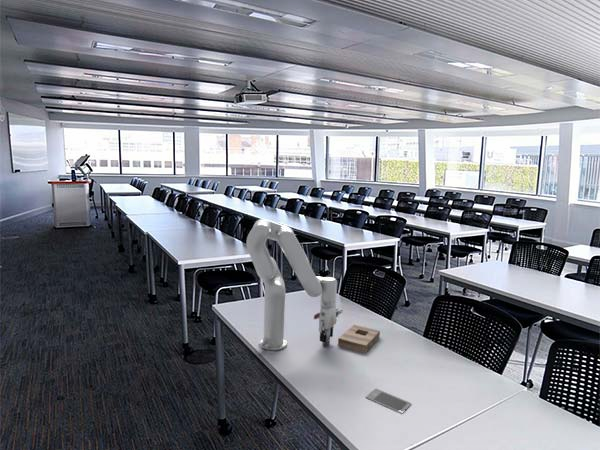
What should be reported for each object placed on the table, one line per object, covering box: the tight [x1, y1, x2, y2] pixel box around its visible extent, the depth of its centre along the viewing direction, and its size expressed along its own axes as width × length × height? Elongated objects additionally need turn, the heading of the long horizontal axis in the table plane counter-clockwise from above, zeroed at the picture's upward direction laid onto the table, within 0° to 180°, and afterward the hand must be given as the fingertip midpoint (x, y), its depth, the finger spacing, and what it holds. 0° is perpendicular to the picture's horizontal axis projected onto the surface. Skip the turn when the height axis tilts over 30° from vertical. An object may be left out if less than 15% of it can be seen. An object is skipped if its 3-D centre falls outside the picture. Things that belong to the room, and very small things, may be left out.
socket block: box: [337, 324, 381, 354], centre depth 201 cm, size 20×14×4 cm
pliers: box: [313, 308, 343, 319], centre depth 233 cm, size 12×20×3 cm, turn 143°
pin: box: [321, 326, 331, 347], centre depth 195 cm, size 4×4×9 cm
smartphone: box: [365, 388, 412, 412], centre depth 151 cm, size 15×8×1 cm, turn 51°
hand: (326, 338), depth 195 cm, fingers open, 6 cm apart
